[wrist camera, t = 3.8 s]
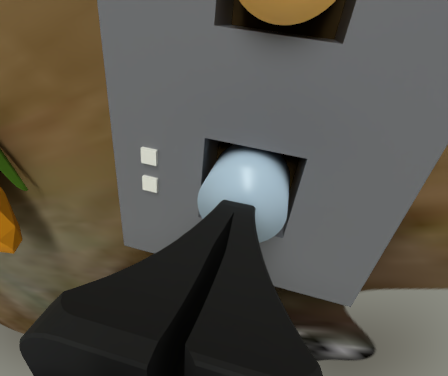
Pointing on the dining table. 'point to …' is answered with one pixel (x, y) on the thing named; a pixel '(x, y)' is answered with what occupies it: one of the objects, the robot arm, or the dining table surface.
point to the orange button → (286, 10)
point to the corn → (9, 210)
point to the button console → (279, 124)
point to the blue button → (249, 186)
